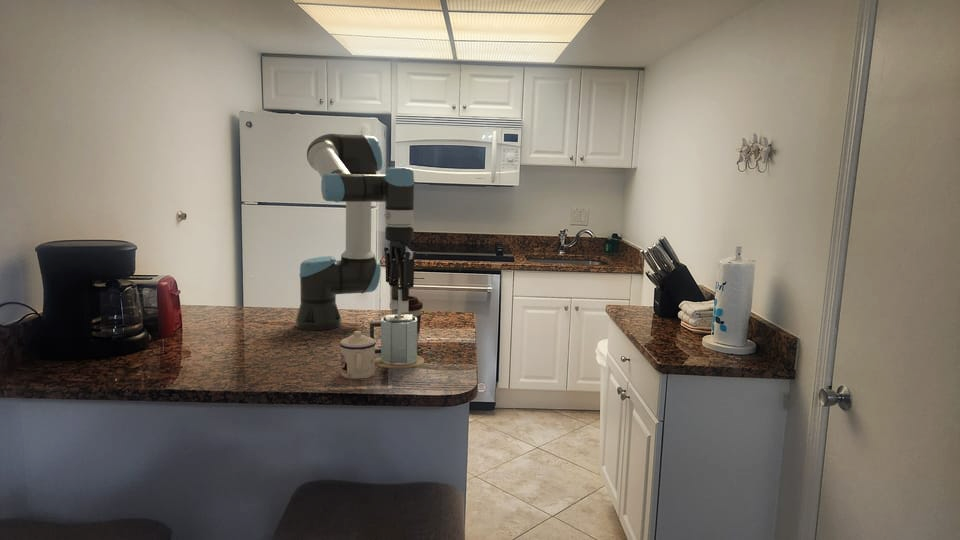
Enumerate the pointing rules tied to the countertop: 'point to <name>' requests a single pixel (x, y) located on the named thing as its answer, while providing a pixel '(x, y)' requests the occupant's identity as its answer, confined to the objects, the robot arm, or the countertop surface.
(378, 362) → the cork trivet
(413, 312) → the coffee cup
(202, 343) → the countertop surface
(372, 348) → the teacup with lid
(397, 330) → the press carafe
